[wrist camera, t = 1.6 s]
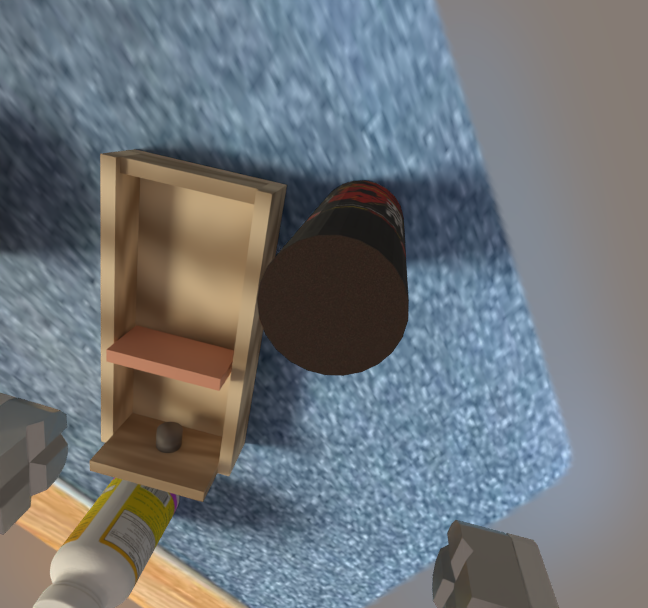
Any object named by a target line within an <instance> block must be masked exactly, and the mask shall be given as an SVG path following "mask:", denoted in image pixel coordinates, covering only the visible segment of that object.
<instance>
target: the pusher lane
mask: <svg viewBox="0 0 648 608" xmlns="http://www.w3.org/2000/svg"><path fill="white" fill-rule="evenodd" d="M100 160H101V441H102V442H106V443H105V444H104V445H103V446H102V448H101V449H100V450H99V451H98V452H97V453H96V454H95V455H94V457H93V458H92V459H91V460H90V471H94V472H97V473H101V474H104V475H108V476H112V477H115V478H119V479H122V480H126V481H130V482H133V483H137V484H140V485H144V486H148V487H151V488H155V489H158V490H162V491H166V492H169V493H173V494H176V495H180V496H184V497H187V498H191V499H194V500H198V501H202V502H203V501H204V499H205V497H206V495H207V493H208V491H209V489H210V487H211V485H212V483H213V481H214V479H215V477H216V475H217V473H219V474H223V475H227V476H230V474H231V471H232V469H233V467H234V465H235V463H236V461H237V459H238V456H239V454H240V452H241V450H242V448H243V446H244V444H245V438H246V432H247V425H248V419H249V413H250V407H251V401H252V395H253V389H254V383H255V377H256V371H257V365H258V358H259V352H260V346H261V340H262V334H263V327H262V324H261V322H260V319H259V313H258V304H257V297H258V291H259V285H260V281H261V279H262V277H263V275H264V272H265V270H266V268H267V266H268V265H269V263H270V262H271V261H272V260H273V259H274V258H275V255H276V249H277V243H278V237H279V230H280V224H281V218H282V212H283V206H284V200H285V194H286V188H287V185H286V184H281V183H277V182H273V181H268V180H264V179H260V178H255V177H251V176H247V175H243V174H238V173H234V172H230V171H225V170H221V169H217V168H213V167H208V166H204V165H200V164H195V163H191V162H187V161H183V160H178V159H174V158H170V157H165V156H161V155H157V154H153V153H148V152H144V151H140V150H135V149H134V150H126V151H118V152H111V153H103V154H100ZM136 325H137V326H141V327H145V328H149V329H153V330H157V331H160V332H164V333H168V334H172V335H176V336H180V337H184V338H188V339H192V340H195V341H199V342H203V343H207V344H211V345H215V346H219V347H223V348H227V349H231V350H234V356H233V363H232V371H231V374H230V375H229V377H228V378H227V380H226V381H225V383H224V384H223V386H222V387H221V389H220V391H217V390H213V389H210V388H206V387H202V386H198V385H194V384H191V383H187V382H183V381H179V380H175V379H171V378H168V377H164V376H160V375H156V374H152V373H149V372H145V371H141V370H137V369H133V368H130V367H126V366H122V365H118V364H114V363H111V362H107V361H106V349H108V348H109V347H110V346H111V345H113V344H114V343H115V342H116V341H118V340H119V339H120V338H121V337H123V336H124V335H125V334H126V333H128V332H129V331H130V330H131V329H132V328H134V327H135V326H136Z"/></svg>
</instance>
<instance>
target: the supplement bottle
mask: <svg viewBox="0 0 648 608" xmlns="http://www.w3.org/2000/svg"><path fill="white" fill-rule="evenodd" d="M178 504H179V495H176V494H173V493H169V492H166V491H162V490H158V489H155V488H151V487H148V486H144V485H140V484H137V483H133V482H130V481H126V480H122V479H119V478H114V479H113V480H112V481H111V483H110V484H109V485H108V486H107V488H106V489H105V490H104V492H103V493H102V494H101V496H100V497H99V498H98V500H97V501H96V502H95V503H94V505H93V506H92V507H91V509H90V510H89V511H88V513H87V514H86V515H85V517H84V518H83V519H82V520H81V522H80V523H79V524H78V526H77V527H76V528H75V530H74V531H73V532H72V533H71V535H70V536H69V537H68V539H67V540H66V541H65V542H64V544H63V545H62V546H61V548H60V549H59V550H58V552H57V553H56V554H55V556H54V558H53V560H52V563H51V568H50V576H51V580H52V582H53V584H52V585H50V586H49V587H48V588H47V589H45V590H44V591H43V593H42V594H41V596H40V597H39V599H38V600H37V602H36V603H35V604H34V606H33V608H115V607H117V606H118V605H120V604H121V603H123V602H124V601H125V600H126V599H127V597H128V596H129V595H130V593H131V591H132V589H133V588H134V586H135V584H136V582H137V581H138V579H139V577H140V575H141V573H142V571H143V569H144V568H145V566H146V564H147V562H148V560H149V558H150V557H151V555H152V553H153V551H154V549H155V547H156V546H157V544H158V542H159V540H160V538H161V537H162V535H163V533H164V531H165V529H166V527H167V526H168V524H169V522H170V520H171V518H172V516H173V515H174V513H175V511H176V509H177V507H178Z"/></svg>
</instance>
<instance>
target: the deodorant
mask: <svg viewBox="0 0 648 608" xmlns="http://www.w3.org/2000/svg"><path fill="white" fill-rule="evenodd" d="M257 304H258V313H259V319H260V322H261V324H262V327H263V329H264V332H265V334H266V336H267V337H268V339H269V340H270V341H271V343H272V344H273V346H274V347H275V348H276V350H278V351H279V352H280V353H281V354H282V355H283V356H285V357H286V358H287V359H288V360H289V361H290V362H292V363H294V364H296V365H298V366H300V367H302V368H304V369H306V370H308V371H312V372H316V373H319V374H323V375H342V376H344V375H349V374H354V373H359V372H363V371H365V370H367V369H369V368H371V367H373V366H375V365H378V364H379V363H380V362H381V361H383V360H384V359H385V358H386V357H387V356H389V355H390V354H391V353H392V352H393V351H394V349H395V348H396V346H397V345H398V343H399V342H400V340H401V339H402V337H403V334H404V331H405V328H406V325H407V322H408V304H409V300H408V283H407V266H406V250H405V233H404V217H403V214H402V210H401V206H400V205H399V203H398V201H397V199H396V198H395V196H394V195H393V194H392V193H391V192H390V191H389V190H388V189H386V188H385V187H383V186H381V185H379V184H377V183H374V182H370V181H366V180H362V181H351V182H348V183H345V184H342V185H341V186H339V187H338V188H336V189H334V190H333V191H332V192H331V193H330V194H329V195H328V197H327V198H326V199H325V200H324V201H323V202H322V203H321V205H320V206H319V207H318V208H317V209H316V210H315V211H314V213H313V214H312V215H311V216H310V217H309V218H308V220H307V221H306V222H305V223H304V224H303V225H302V226H301V228H300V229H299V230H298V231H297V232H296V233H295V235H294V236H293V237H292V238H291V239H290V240H289V241H288V243H287V244H286V245H285V246H284V247H283V248H282V250H281V251H280V252H279V253H278V254H277V255H276V257H275V258H274V259H273V260H272V261H271V262H270V263H269V265H268V266H267V268H266V270H265V272H264V275H263V277H262V279H261V281H260V285H259V291H258V297H257Z"/></svg>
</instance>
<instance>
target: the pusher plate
mask: <svg viewBox="0 0 648 608" xmlns="http://www.w3.org/2000/svg"><path fill="white" fill-rule="evenodd" d="M233 356H234V350H231V349H227V348H223V347H219V346H215V345H211V344H207V343H203V342H199V341H195V340H192V339H188V338H184V337H180V336H176V335H172V334H168V333H164V332H160V331H157V330H153V329H149V328H145V327H141V326H137V325H136V326H135V327H134V328H132V329H131V330H130V331H129V332H128V333H126V334H125V335H124V336H123V337H121V338H120V339H119V340H118V341H116V342H115V343H114V344H113V345H111V346H110V347H109V348H108V349H106V361H107V362H111V363H114V364H118V365H122V366H126V367H130V368H133V369H137V370H141V371H145V372H149V373H152V374H156V375H160V376H164V377H168V378H171V379H175V380H179V381H183V382H187V383H191V384H194V385H198V386H202V387H206V388H210V389H213V390H217V391H220V389H221V387H222V386H223V384H224V383H225V381H226V380H227V378H228V377H229V375H230V374H231V371H232V363H233Z"/></svg>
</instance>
